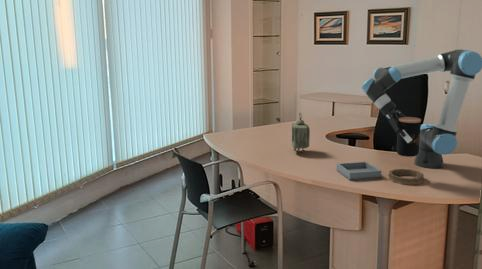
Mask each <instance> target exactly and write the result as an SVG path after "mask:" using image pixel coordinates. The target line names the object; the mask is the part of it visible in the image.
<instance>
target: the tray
mask: <svg viewBox="0 0 482 269" xmlns="http://www.w3.org/2000/svg"><path fill="white" fill-rule="evenodd" d="M336 172H338V173H339V174H340V175H341V176H343V177H344V178H345V179H347V180H348V181H350V182H351V181H358V180H359V181H360V180H361V181H363V180H375V179H381V178H382V170H380V169H379V168H377V167H376V166H374V165H372V164H371V163H369V162H368V161H355V162H354V161H353V162H339V163H336Z"/></svg>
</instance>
